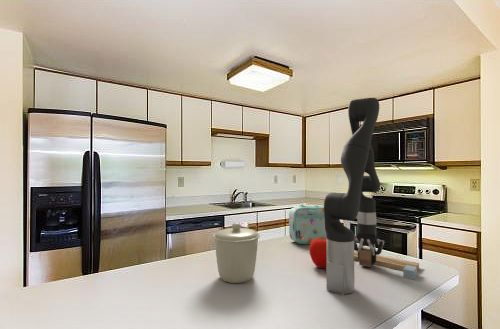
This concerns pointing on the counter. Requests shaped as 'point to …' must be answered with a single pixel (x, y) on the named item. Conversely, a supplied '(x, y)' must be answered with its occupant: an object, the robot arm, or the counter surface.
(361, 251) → the walnut block
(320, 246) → the tomato
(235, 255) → the canister
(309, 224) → the lunch box
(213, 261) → the counter surface
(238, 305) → the counter surface
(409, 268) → the slate stop block
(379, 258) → the oak board
